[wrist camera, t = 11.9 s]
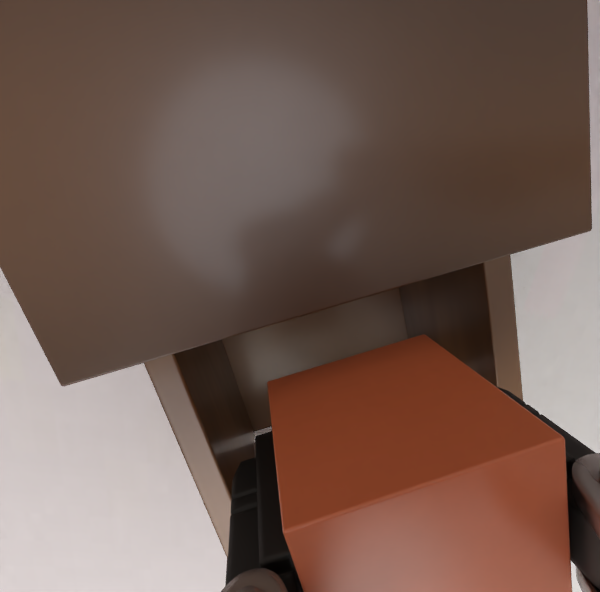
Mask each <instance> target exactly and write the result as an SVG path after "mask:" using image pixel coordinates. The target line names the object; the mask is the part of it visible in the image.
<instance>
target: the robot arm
mask: <svg viewBox="0 0 600 592" xmlns="http://www.w3.org/2000/svg"><path fill="white" fill-rule="evenodd" d="M496 387H497V386H496ZM497 388H498V389H500V390H501V391H502V392H504V393H505V394H506V395H508V396H509V397H510V398H512V399H513V400H515V401H516V402H517V403H519V404H520V405H521V406H523V407H524V408H525V409H527V410H528V411H529V412H531V413H532V414H533V415H535V416H536V417H538V418H539V419H540V420H542V421H543V422H544V423H546V424H547V425H548V426H550V427H551V428H552V429H554V430H555V431H557V432H558V433H559V434H561V435H562V436H563V437H564V439H565V449H566V472H567V494H568V516H569V538H570V560H571V561H572V562H573V563H574V564H575V565H576V577H577V581H578V583H579V585H580V588H581V589H582V591H583V592H600V453H595V452H593V451H592V450H591V449H589V448H588V447H586V446H585V445H584V444H582V443H581V442H580V441H578V440H577V439H575V438H574V437H573V436H571V435H570V434H568V433H567V432H566V431H564V430H563V429H561V428H560V427H559V426H557V425H556V424H554V423H553V422H552V421H550V420H549V419H547V418H546V417H545V416H543V415H542V414H541V415H540V414H539V413H538V411H536V410H535V409H534V408H532V407H531V406H529V405H526V404H525V402H524V401H522V400H521V399H520V398H518V397H517V396H515V395H514V394H513V393H511V392H510V391H508V390H505V389H503V388H500V387H497ZM255 441H256V457H254V458H251V459H248V460H245V461H242V462H241V463H240V465H239V467H238V469H237V471H236V473H235V475H234V477H233V479H232V495H231V497H232V500H231V516H230V530H229V547H228V564H227V579H226V586H225V587H224V589H223V590H222V591H221V592H304V591H303V588H302V585H301V582H300V580H299V577H298V574H297V571H296V568H295V565H294V563H293V560H292V557H291V554H290V551H289V548H288V546H287V543H286V540H285V537H284V534H283V530H282V520H281V511H280V501H279V491H278V482H277V472H276V463H275V453H274V444H273V434H272V431H271V432H268V433H265V434H262V435H259V436H256V438H255Z"/></svg>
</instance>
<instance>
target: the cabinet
mask: <svg viewBox="0 0 600 592" xmlns="http://www.w3.org/2000/svg"><path fill="white" fill-rule="evenodd" d="M591 229H592V214H591V165H590V115H589V66H588V17H587V0H0V267H1V269H2V271H3V273H4V275H5V277H6V279H7V281H8V283H9V285H10V287H11V289H12V291H13V293H14V295H15V297H16V298H17V300H18V302H19V304H20V306H21V308H22V310H23V312H24V314H25V316H26V318H27V320H28V322H29V324H30V326H31V328H32V330H33V332H34V334H35V335H36V337H37V339H38V341H39V343H40V345H41V347H42V349H43V351H44V353H45V355H46V357H47V359H48V361H49V363H50V365H51V367H52V369H53V371H54V372H55V374H56V376H57V378H58V380H59V382H60V384H61V386H66V385H70V384H73V383H77V382H80V381H83V380H87V379H90V378H94V377H97V376H100V375H104V374H107V373H110V372H114V371H117V370H121V369H124V368H127V367H131V366H134V365H138V364H141V363H144V362H148V361H151V360H155V359H158V358H161V357H165V356H168V355H171V354H175V353H178V352H182V351H185V350H188V349H192V348H195V347H199V346H202V345H205V344H209V343H212V342H216V341H219V340H222V339H226V338H229V337H232V336H236V335H239V334H243V333H246V332H249V331H253V330H256V329H260V328H263V327H266V326H270V325H273V324H277V323H280V322H283V321H287V320H290V319H293V318H297V317H300V316H304V315H307V314H310V313H314V312H317V311H321V310H324V309H327V308H331V307H334V306H338V305H341V304H344V303H348V302H351V301H355V300H358V299H361V298H365V297H368V296H371V295H375V294H378V293H382V292H385V291H388V290H392V289H395V288H399V287H402V286H405V285H409V284H412V283H416V282H419V281H422V280H426V279H429V278H432V277H436V276H439V275H443V274H446V273H449V272H453V271H456V270H460V269H463V268H466V267H470V266H473V265H477V264H480V263H483V262H487V261H490V260H493V259H497V258H500V257H504V256H507V255H510V254H514V253H517V252H521V251H524V250H527V249H531V248H534V247H538V246H541V245H544V244H548V243H551V242H554V241H558V240H561V239H565V238H568V237H571V236H575V235H578V234H582V233H585V232H588V231H591Z"/></svg>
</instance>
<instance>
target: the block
mask: <svg viewBox="0 0 600 592" xmlns="http://www.w3.org/2000/svg"><path fill="white" fill-rule="evenodd" d="M267 386H268V396H269V405H270V415H271V424H272V434H273V444H274V453H275V463H276V472H277V482H278V491H279V501H280V511H281V520H282V530H283V534H284V537H285V540H286V543H287V546H288V548H289V551H290V554H291V557H292V560H293V563H294V565H295V568H296V571H297V574H298V577H299V580H300V582H301V585H302V588H303V591H304V592H572V583H571V560H570V538H569V516H568V494H567V472H566V449H565V439H564V437H563V436H562V435H561V434H559V433H558V432H557V431H555V430H554V429H552V428H551V427H550V426H548V425H547V424H546V423H544V422H543V421H542V420H540V419H539V418H538V417H536V416H535V415H533V414H532V413H531V412H529V411H528V410H527V409H525V408H524V407H523V406H521V405H520V404H519V403H517V402H516V401H515V400H513V399H512V398H510V397H509V396H508V395H506V394H505V393H504V392H502V391H501V390H500V389H498V388H497V387H496V386H494V385H493V384H491V383H490V382H489V381H487V380H486V379H485V378H483V377H482V376H481V375H479V374H478V373H477V372H475V371H474V370H473V369H471V368H470V367H468V366H467V365H466V364H464V363H463V362H462V361H460V360H459V359H458V358H456V357H455V356H454V355H452V354H451V353H449V352H448V351H447V350H445V349H444V348H443V347H441V346H440V345H439V344H437V343H436V342H435V341H433V340H432V339H430V338H429V337H428V336H426V335H425V334H423V335H419V336H416V337H413V338H410V339H406V340H403V341H400V342H396V343H393V344H390V345H386V346H383V347H380V348H377V349H373V350H370V351H367V352H363V353H360V354H357V355H354V356H350V357H347V358H344V359H340V360H337V361H334V362H330V363H327V364H324V365H321V366H317V367H314V368H311V369H307V370H304V371H301V372H298V373H294V374H291V375H288V376H284V377H281V378H278V379H274V380H271V381H268V382H267Z"/></svg>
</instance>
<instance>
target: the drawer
mask: <svg viewBox="0 0 600 592" xmlns="http://www.w3.org/2000/svg"><path fill="white" fill-rule="evenodd" d="M423 334H425V335H426V336H428V337H429V338H430V339H432V340H433V341H435V342H436V343H437V344H439V345H440V346H441V347H443V348H444V349H445V350H447V351H448V352H449V353H451V354H452V355H454V356H455V357H456V358H458V359H459V360H460V361H462V362H463V363H464V364H466V365H467V366H468V367H470V368H471V369H473V370H474V371H475V372H477V373H478V374H479V375H481V376H482V377H483V378H485V379H486V380H487V381H489V382H490V383H491V384H493V385H494V386H497V387H500V388H503V389H505V390H508V391H510V392H511V393H513V394H514V395H515V396H517V397H518V398H520V399H521V400H522V401H523V395H522V384H521V372H520V361H519V350H518V338H517V327H516V315H515V304H514V293H513V281H512V270H511V259H510V255H507V256H504V257H500V258H497V259H493V260H490V261H487V262H483V263H480V264H477V265H473V266H470V267H466V268H463V269H460V270H456V271H453V272H449V273H446V274H443V275H439V276H436V277H432V278H429V279H426V280H422V281H419V282H416V283H412V284H409V285H405V286H402V287H399V288H395V289H392V290H388V291H385V292H382V293H378V294H375V295H371V296H368V297H365V298H361V299H358V300H355V301H351V302H348V303H344V304H341V305H338V306H334V307H331V308H327V309H324V310H321V311H317V312H314V313H310V314H307V315H304V316H300V317H297V318H293V319H290V320H287V321H283V322H280V323H277V324H273V325H270V326H266V327H263V328H260V329H256V330H253V331H249V332H246V333H243V334H239V335H236V336H232V337H229V338H226V339H222V340H219V341H216V342H212V343H209V344H205V345H202V346H199V347H195V348H192V349H188V350H185V351H182V352H178V353H175V354H171V355H168V356H165V357H161V358H158V359H155V360H151V361H148V362H144V364H145V367H146V369H147V371H148V374H149V376H150V378H151V381H152V383H153V385H154V388H155V390H156V392H157V395H158V397H159V399H160V402H161V404H162V406H163V409H164V411H165V413H166V416H167V418H168V420H169V423H170V425H171V427H172V430H173V432H174V434H175V437H176V439H177V441H178V444H179V446H180V448H181V451H182V453H183V455H184V458H185V460H186V462H187V465H188V467H189V469H190V472H191V474H192V476H193V479H194V481H195V483H196V486H197V488H198V490H199V493H200V495H201V497H202V500H203V502H204V504H205V507H206V509H207V511H208V514H209V516H210V518H211V521H212V523H213V525H214V528H215V530H216V532H217V535H218V537H219V539H220V542H221V544H222V546H223V549H224V551H225V553H226V556H227V564H228V547H229V530H230V516H231V500H232V497H231V495H232V479H233V477H234V475H235V473H236V471H237V469H238V467H239V465H240V463H241V462H242V461H245V460H248V459H251V458H254V457H256V442H254V431H257V430H260V429H264V428H267V427H270V426H272V424H271V415H270V405H269V396H268V386H267V382H268V381H271V380H274V379H278V378H281V377H284V376H288V375H291V374H294V373H298V372H301V371H304V370H307V369H311V368H314V367H317V366H321V365H324V364H327V363H330V362H334V361H337V360H340V359H344V358H347V357H350V356H354V355H357V354H360V353H363V352H367V351H370V350H373V349H377V348H380V347H383V346H386V345H390V344H393V343H396V342H400V341H403V340H406V339H410V338H413V337H416V336H419V335H423ZM226 579H227V570H226Z"/></svg>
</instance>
